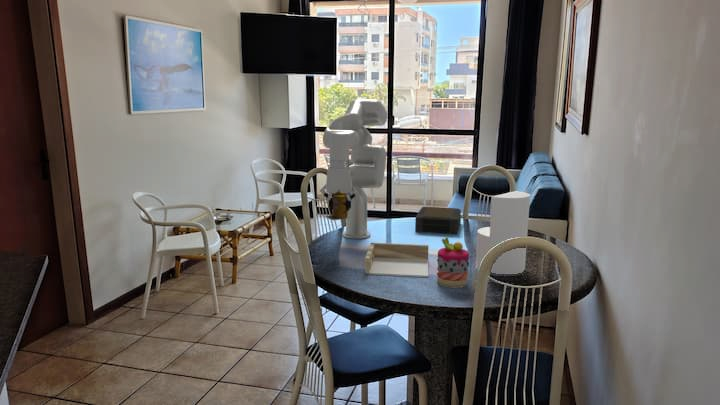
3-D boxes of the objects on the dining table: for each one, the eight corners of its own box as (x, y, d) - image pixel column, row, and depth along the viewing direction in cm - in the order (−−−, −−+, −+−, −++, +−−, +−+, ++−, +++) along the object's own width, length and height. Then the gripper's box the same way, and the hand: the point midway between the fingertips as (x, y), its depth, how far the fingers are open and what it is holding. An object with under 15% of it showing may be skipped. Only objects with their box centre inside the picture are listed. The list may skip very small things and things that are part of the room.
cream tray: (370, 257, 200) (371, 242, 199) (427, 260, 197) (428, 245, 196) (364, 274, 180) (365, 257, 179) (428, 277, 178) (428, 260, 177)
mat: (370, 257, 200) (371, 256, 200) (427, 260, 197) (427, 258, 197) (364, 274, 180) (364, 272, 180) (428, 277, 178) (428, 275, 178)
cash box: (458, 235, 235) (459, 219, 234) (414, 232, 240) (415, 216, 238) (461, 223, 259) (462, 208, 257) (421, 220, 264) (421, 206, 262)
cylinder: (533, 269, 187) (539, 193, 182) (509, 280, 175) (515, 200, 170) (491, 259, 199) (495, 187, 194) (466, 269, 187) (470, 193, 182)
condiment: (351, 217, 202) (351, 187, 199) (333, 220, 197) (333, 190, 194) (342, 214, 208) (341, 185, 205) (323, 217, 203) (323, 187, 200)
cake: (468, 278, 177) (470, 236, 174) (467, 289, 167) (469, 244, 164) (437, 276, 179) (439, 234, 176) (435, 286, 169) (436, 242, 166)
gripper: (362, 163, 200) (362, 208, 204) (319, 162, 202) (320, 207, 206) (360, 166, 193) (360, 212, 197) (315, 165, 195) (316, 211, 199)
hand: (339, 209), depth 201 cm, fingers closed on condiment, 6 cm apart
